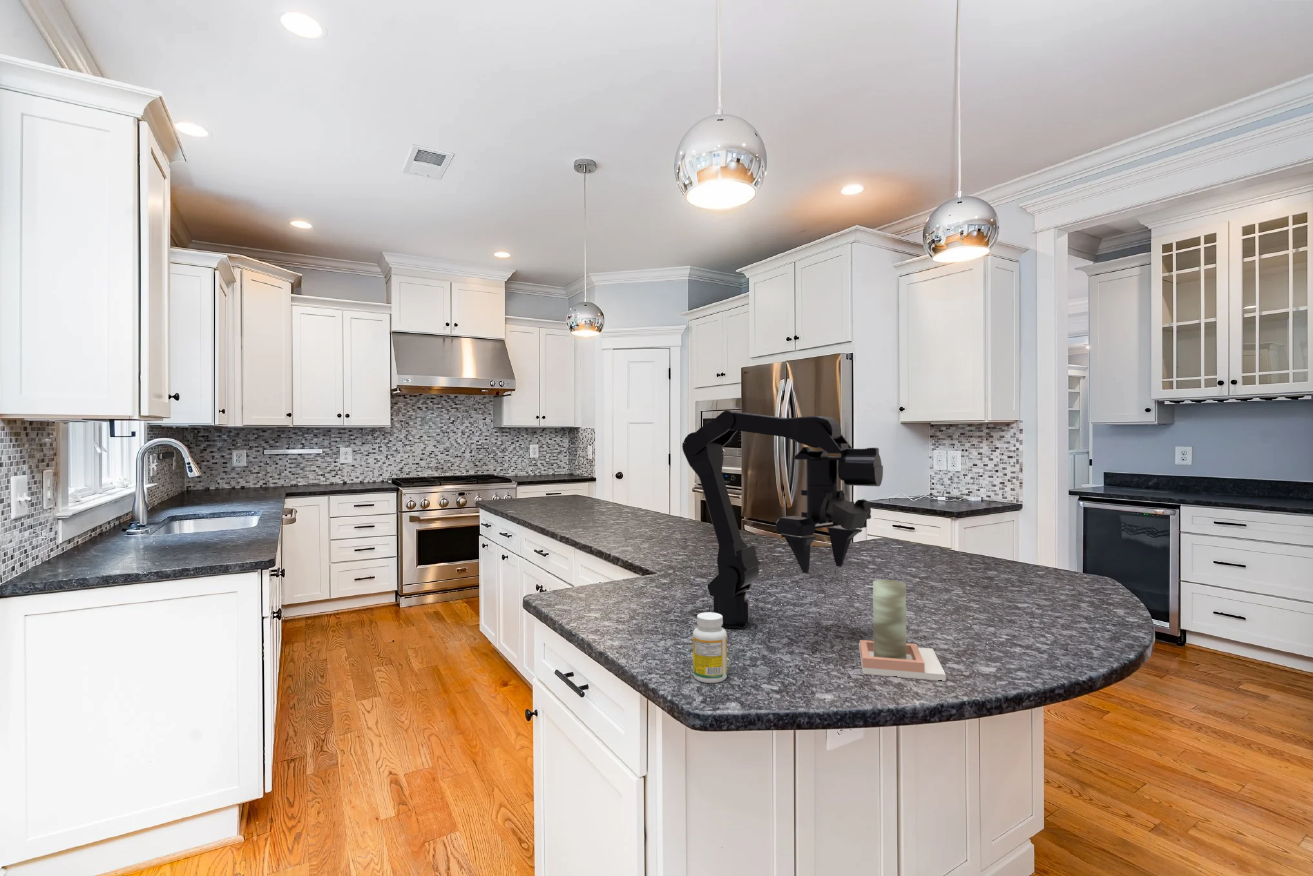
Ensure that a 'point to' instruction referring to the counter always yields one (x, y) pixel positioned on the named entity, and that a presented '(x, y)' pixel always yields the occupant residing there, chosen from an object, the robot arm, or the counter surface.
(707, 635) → the supplement bottle
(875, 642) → the post
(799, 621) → the counter surface
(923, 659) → the board
